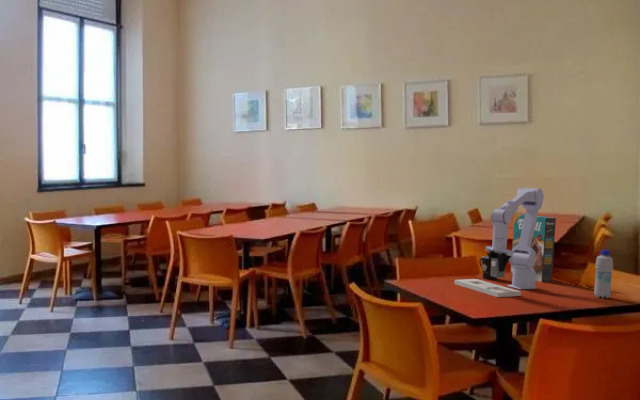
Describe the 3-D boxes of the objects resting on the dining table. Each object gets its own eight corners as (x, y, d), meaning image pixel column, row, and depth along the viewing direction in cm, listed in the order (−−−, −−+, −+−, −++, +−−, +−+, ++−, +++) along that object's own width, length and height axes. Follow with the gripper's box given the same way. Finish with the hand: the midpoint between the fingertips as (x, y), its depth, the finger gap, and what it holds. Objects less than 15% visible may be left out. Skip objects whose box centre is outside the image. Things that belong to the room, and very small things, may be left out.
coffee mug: (501, 280, 286) (502, 259, 286) (483, 279, 286) (484, 258, 286) (494, 276, 298) (496, 255, 297) (476, 275, 298) (478, 254, 297)
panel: (476, 282, 278) (476, 278, 277) (520, 295, 252) (520, 290, 252) (454, 283, 272) (454, 279, 272) (497, 297, 247) (497, 292, 247)
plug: (497, 275, 259) (498, 257, 258) (504, 277, 255) (505, 259, 255) (489, 275, 257) (490, 258, 256) (495, 277, 253) (496, 259, 253)
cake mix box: (510, 273, 308) (514, 213, 306) (520, 273, 310) (524, 214, 309) (541, 281, 288) (545, 218, 286) (551, 281, 290) (555, 218, 288)
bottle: (609, 296, 259) (613, 249, 258) (611, 299, 252) (615, 251, 251) (592, 294, 261) (595, 248, 260) (594, 297, 255) (597, 249, 253)
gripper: (480, 235, 260) (478, 267, 261) (504, 240, 247) (502, 273, 248) (493, 235, 263) (491, 267, 264) (517, 240, 250) (515, 273, 251)
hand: (497, 270), depth 256 cm, fingers closed on plug, 4 cm apart
